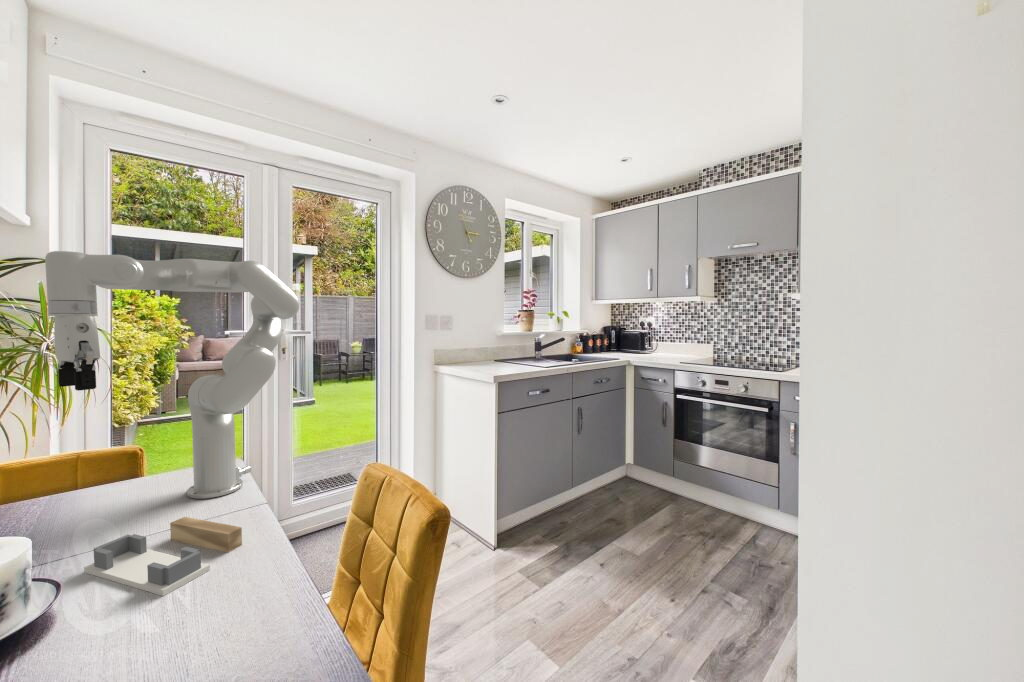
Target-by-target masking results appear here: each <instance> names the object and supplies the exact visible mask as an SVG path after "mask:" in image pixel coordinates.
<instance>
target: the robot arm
mask: <svg viewBox="0 0 1024 682" xmlns="http://www.w3.org/2000/svg"><path fill="white" fill-rule="evenodd" d="M44 262H45V265H44V266H45V277H46V279H45V281H46V298H47V313H48V317H54V324H53V326H54V329H53V330H54V334H53V335H54V336H53V337H54V354H55V357H56V359H57V361H58V363H57V371H58V372H57V373H58V385H59V387H62V388H63V387H72V386H74V390H75V391H79V392H80V391H87V390H94V389H97V377H96V374H97V373H96V372H97V371H96V368H97V367H96V364H95V363H96V361H99V360H100V358H101V350H100V340H99V332H98V325H97V322H96V317H98V301H97V299H98V295H97V286H98V287H100V288H103V289H106V290H129V291H130V290H131V291H132V290H133V291H134V290H135V291H136V290H137V291H138V290H140V291H141V290H142V291H144V290H145V291H168V292H182V293H183V292H184V293H185V292H186V293H187V292H188V293H189V292H190V293H191V292H192V293H193V292H194V293H195V292H196V293H197V292H198V293H250V294H251V295H252V296H253V297H252V299H251V302H250V310H251V314H252V324H251V326H250V328H249V330H248V331H247V332H246V333H245V334H244V335H243V336H242V337H241V339H239V340H238V341H237V342H236V343H235V344H234V345H233V347H231V349H230V350H228V351H227V352H226V353H225V355H224V356H223V358H222V359H221V360H222V361H221V367H222V370H223V371H224V373H225V374H224V375H217V374H216V375H215V374H209V375H204V376H201V377H199V378H197V379H196V380H195V381H194V382H193V383H192V384H191V385H190V387H189V389H188V395H187V401H188V405H189V406H188V407H189V412H190V417H191V418H190V419H191V425H192V426H191V430H192V432H191V433H192V462H193V463H192V465H193V467H192V468H193V485H191V486H190V487H189V488H187V490H186V496H187V497H188V498H189V499H195V500H196V499H197V500H198V499H199V500H202V499H203V500H204V499H211V498H217V497H223V496H225V495H229V494H232V493H234V492H237V491H238V490H240V489H241V488H242V487H243V483H244V482H243V480H242V479H241V477H242V476H243V475H246V474H249V473H251V472H252V467H251V466H250V465H248V466H244V467H242V468H240V467H236V466H237V465H236V427H235V426H236V425H235V417H234V414H236V413H238V412H240V411H241V410H243V409H244V408H245V407H246V406H247V405H248V404H249V403H250V402H251V401H252V400H253V399H254V397H255V396H256V395H257V394H258V393H259V392H260V390H261V389H262V388H263V387H264V386H265V385H266V383H267V382H268V381H269V380H270V379H271V377H272V376H273V374H274V372H275V370H276V366H277V365H276V364H277V363H276V357H275V355H274V353H273V351H274V349H275V348H276V347H277V346H278V345H279V343H280V341H281V339H282V336H283V320H287V319H291V318H293V317H294V316H296V315H297V313H298V312H299V310H300V301H299V299H298V297H297V295H296V294H295V292H293V291H292V290H291V289H290V288H289V286H287V285H286V284H285V283H284V282H283V281H282V280H281V279H279V278H278V277H277V276H276V275H275V274H274V273H273V272H271V270H269V269H268V268H267V267H266V266H265V265H263V264H261V263H260V262H258V261H254V260H244V261H226V260H225V261H223V260H210V259H199V258H175V259H174V258H173V259H163V260H160V259H159V260H142V259H135V258H133V257H130V256H129V255H128V256H127V255H124V254H88V253H84V252H77V251H67V250H55V251H49V252H48V253H46V255H45V258H44ZM239 488H240V489H239Z"/></svg>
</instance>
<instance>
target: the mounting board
mask: <svg viewBox="0 0 1024 682" xmlns="http://www.w3.org/2000/svg"><path fill="white" fill-rule="evenodd" d="M147 547H148V546H147V536H144V535H140V534H139V535H138V534H135V533H133V534H126V535H123V536H121V537H118V538H116V539H113V540H111V541H108V542H106V543H103V544H101V545H99V546H96V547H93V559H94V560H93V563H90V564H88V565H86V566H84V567H83V568H84V569H83V570H84V571H83V572H84V573H85V574H89V575H91V576H94V577H95V576H96V577H99V578H102V579H105V580H108V581H113V582H115V583H118V584H122V585H125V586H128V587H132V588H135V589H138V590H141V591H146V592H147V593H152V594H155V595H159V596H162V597H164V596H166V595H168V594H170V593H171V592H173V591H175V590H177V589H179V588H181V587H182V586H184V585H186V584H188V583H189V582H192V581H193V580H196V579H197V578H199V577H200V576H201V575H204V574H205V573H207V572H209V571H210V570H211V569H210V567H211V566H210V564H208V563H205V562H204V563H203V562H202V559H201V558H202V556H201V555H202V554H201V551H200V549H197V548H192V547H189V546H184V547H182V548H181V549H180V557H179V556H176V555H172V554H168V553H164V552H161V551H156V550H153V549H149V548H147Z"/></svg>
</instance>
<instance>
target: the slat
mask: <svg viewBox="0 0 1024 682" xmlns="http://www.w3.org/2000/svg"><path fill="white" fill-rule="evenodd" d="M169 532H170V541H174V542H178V543H184V544H188V545H193V546H196V547H197V546H198V547H202V548H207V549H211V550H216V551H221V552H227V553H231V552H232V551H234V550H235V549H238V548H239V547H240V546H243V537H242V536H243V535H242V532H243V528H242V526H236V525H231V524H225V523H221V522H220V523H219V522H215V521H211V520H206V519H204V520H203V519H199V518H194V517H188V516H182V517H181V518H178V519H176V520H174V521H172V522H170V531H169Z"/></svg>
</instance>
